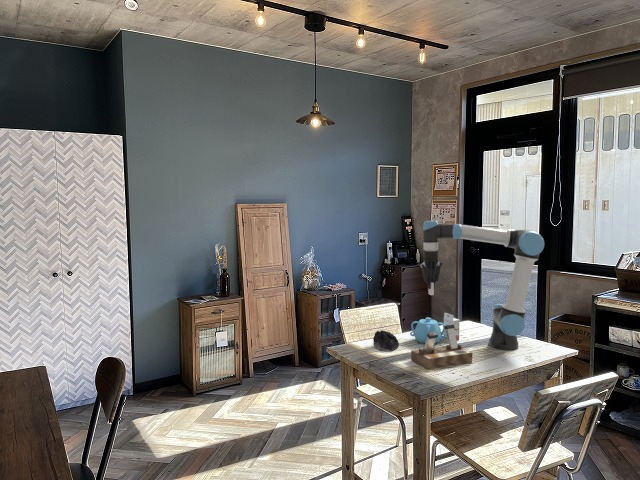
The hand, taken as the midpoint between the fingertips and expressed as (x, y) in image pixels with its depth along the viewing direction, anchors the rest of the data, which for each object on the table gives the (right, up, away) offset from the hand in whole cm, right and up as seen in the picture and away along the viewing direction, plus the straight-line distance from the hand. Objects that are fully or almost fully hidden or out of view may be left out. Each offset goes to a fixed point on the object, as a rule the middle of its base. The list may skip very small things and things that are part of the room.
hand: (431, 294), depth 255 cm
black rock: (-23, -30, +6) cm, 38 cm away
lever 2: (+8, -25, -13) cm, 30 cm away
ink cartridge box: (+17, -28, +23) cm, 40 cm away
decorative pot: (+2, -29, +17) cm, 34 cm away
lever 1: (-6, -26, -19) cm, 33 cm away
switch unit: (+1, -31, -16) cm, 35 cm away
